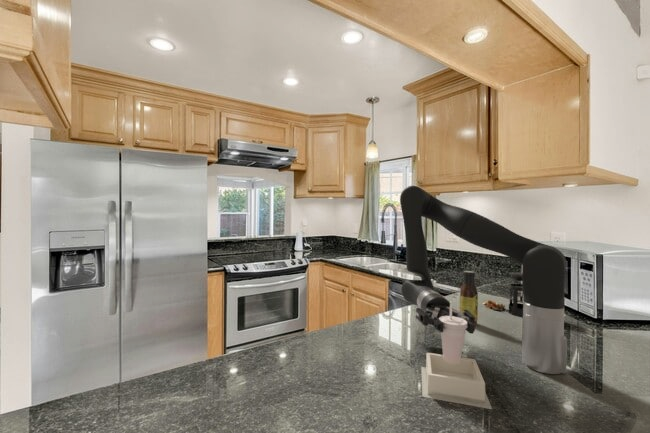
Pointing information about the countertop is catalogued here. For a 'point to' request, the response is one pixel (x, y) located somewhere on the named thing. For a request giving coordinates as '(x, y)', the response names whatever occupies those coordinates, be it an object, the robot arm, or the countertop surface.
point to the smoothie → (452, 337)
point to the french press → (516, 295)
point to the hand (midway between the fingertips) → (457, 328)
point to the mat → (425, 394)
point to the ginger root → (494, 305)
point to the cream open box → (455, 379)
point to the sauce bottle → (469, 295)
